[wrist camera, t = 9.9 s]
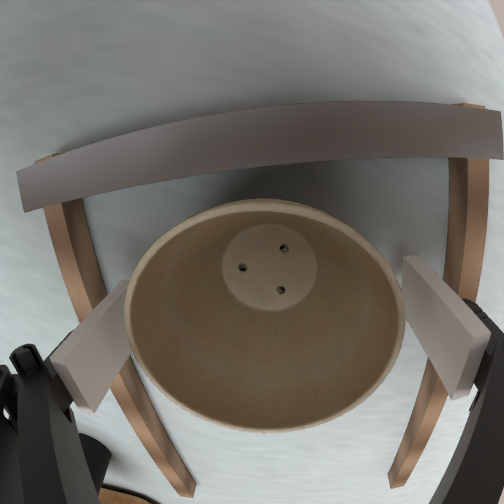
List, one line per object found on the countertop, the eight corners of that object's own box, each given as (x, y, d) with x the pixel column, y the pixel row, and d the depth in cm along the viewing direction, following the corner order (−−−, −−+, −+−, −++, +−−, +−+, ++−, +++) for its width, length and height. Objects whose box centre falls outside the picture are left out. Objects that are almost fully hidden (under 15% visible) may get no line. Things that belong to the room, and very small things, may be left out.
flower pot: (160, 192, 16) (85, 233, 9) (352, 161, 14) (408, 182, 8) (202, 347, 19) (172, 434, 12) (361, 330, 18) (390, 419, 11)
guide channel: (55, 157, 15) (-2, 169, 11) (465, 107, 12) (521, 104, 8) (183, 482, 27) (174, 517, 22) (400, 471, 24) (408, 507, 19)
